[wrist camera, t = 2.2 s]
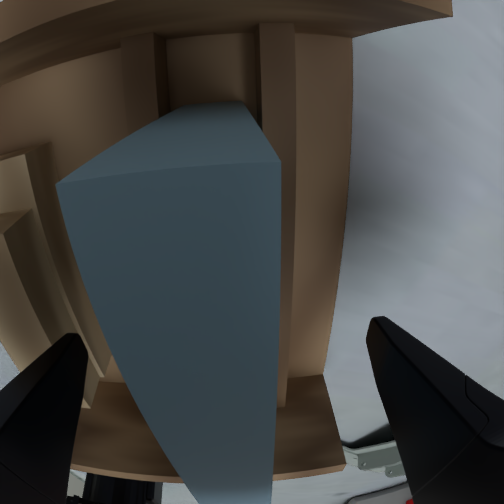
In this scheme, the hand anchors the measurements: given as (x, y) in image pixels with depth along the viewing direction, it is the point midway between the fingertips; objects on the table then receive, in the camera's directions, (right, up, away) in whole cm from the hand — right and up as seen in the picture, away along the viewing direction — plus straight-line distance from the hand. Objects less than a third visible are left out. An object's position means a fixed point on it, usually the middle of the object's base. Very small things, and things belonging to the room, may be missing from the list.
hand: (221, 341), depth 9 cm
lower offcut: (-8, +2, +4) cm, 10 cm away
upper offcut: (-8, 0, +3) cm, 9 cm away
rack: (-3, +3, +5) cm, 7 cm away
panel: (0, +3, +4) cm, 5 cm away
